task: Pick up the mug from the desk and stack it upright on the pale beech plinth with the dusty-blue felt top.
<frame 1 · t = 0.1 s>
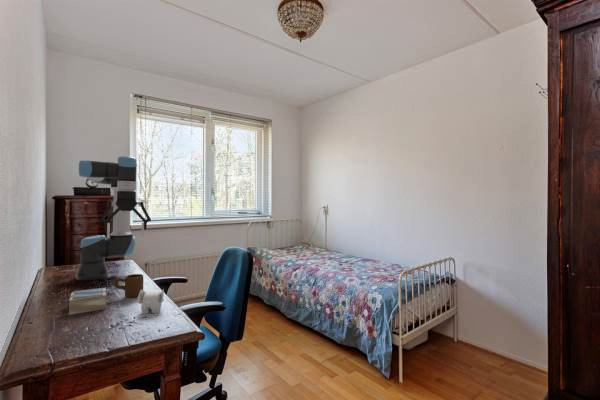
hand: (125, 237, 138), 28 cm above the table, fingers open, 13 cm apart
plinth: (88, 307, 126), on the table
mug: (128, 297, 140), on the table
elephant figurine: (152, 311, 124), on the table
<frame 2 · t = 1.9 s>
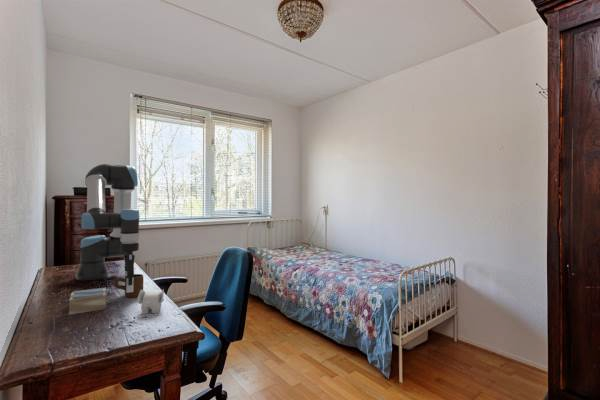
hand: (128, 288, 140), 4 cm above the table, fingers open, 13 cm apart
nothing on the table moved.
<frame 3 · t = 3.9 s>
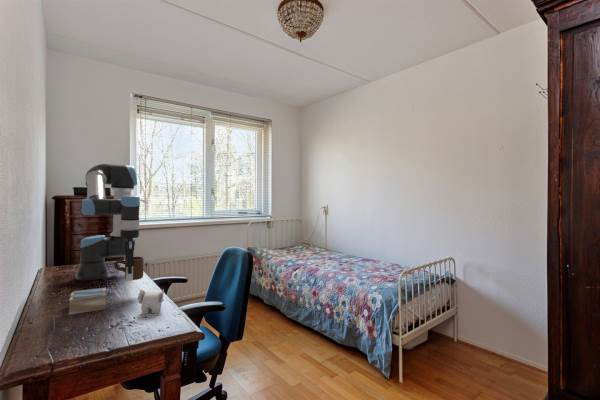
hand: (128, 278, 141), 8 cm above the table, fingers closed on mug, 7 cm apart
mug: (128, 279, 141), point 8 cm above the table, touching gripper
everything else where it was.
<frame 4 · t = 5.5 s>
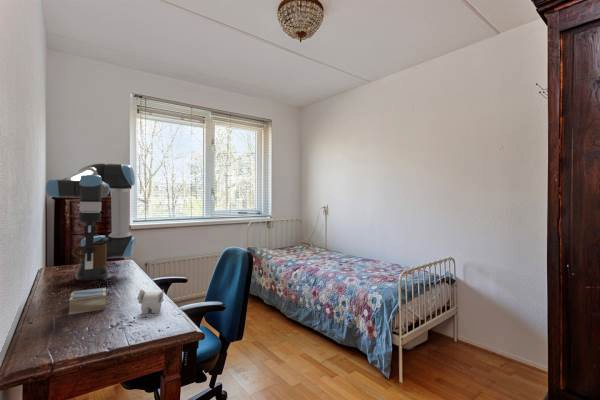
hand: (89, 266, 126), 17 cm above the table, fingers closed on mug, 7 cm apart
mug: (89, 268, 126), point 16 cm above the table, touching gripper
everything else where it was.
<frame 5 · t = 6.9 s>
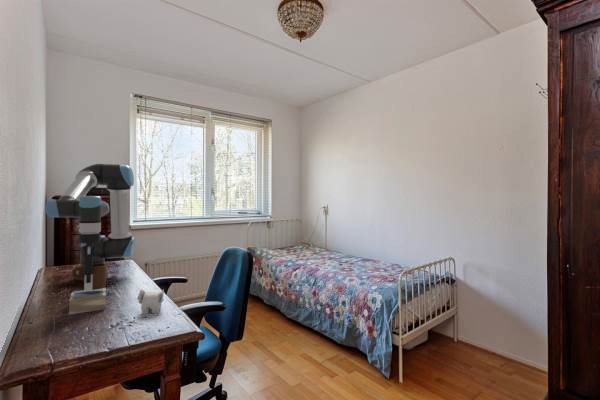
hand: (88, 287, 126), 8 cm above the table, fingers closed on mug, 7 cm apart
mug: (88, 288, 126), point 8 cm above the table, touching gripper
everything else where it was.
when the fingers open (7 cm above the table, at t = 7.6 s): mug stays where it is, resting on plinth.
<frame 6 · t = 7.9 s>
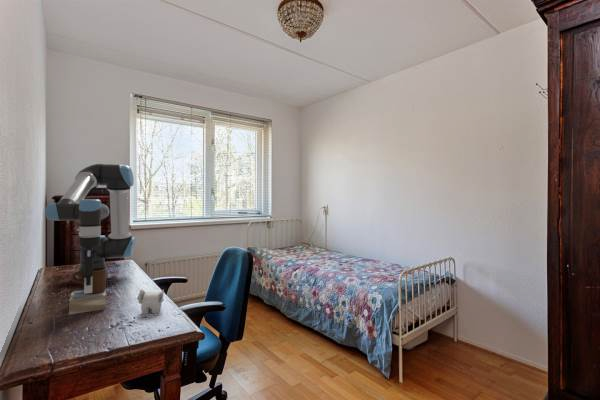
hand: (88, 289, 126), 7 cm above the table, fingers open, 10 cm apart
mug: (88, 292, 126), point 6 cm above the table, touching plinth
everything else where it was.
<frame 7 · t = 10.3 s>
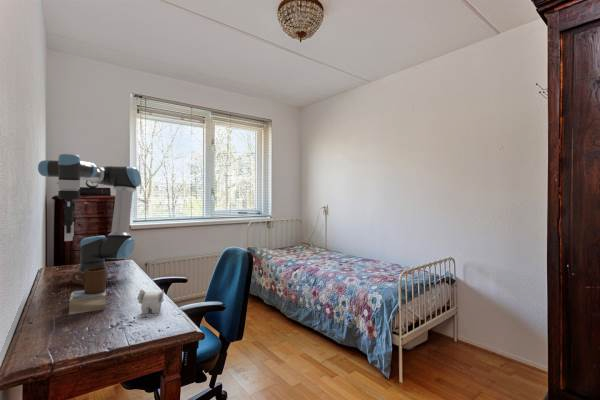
hand: (69, 238, 133), 27 cm above the table, fingers open, 13 cm apart
nothing on the table moved.
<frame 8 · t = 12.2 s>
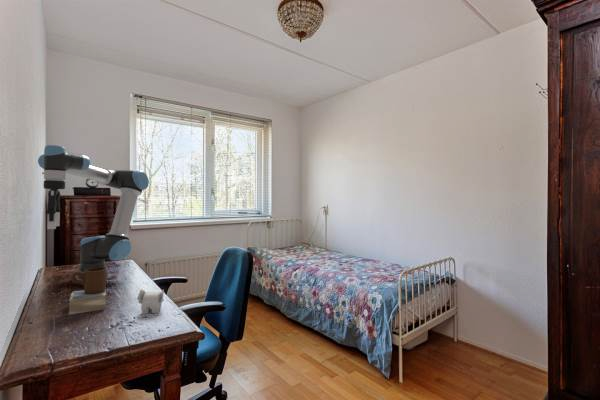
hand: (53, 227, 136), 32 cm above the table, fingers open, 13 cm apart
nothing on the table moved.
at the end: mug 0.3 cm from the plinth (horizontally); mug point 5.8 cm above the table; mug tilted 0° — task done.
